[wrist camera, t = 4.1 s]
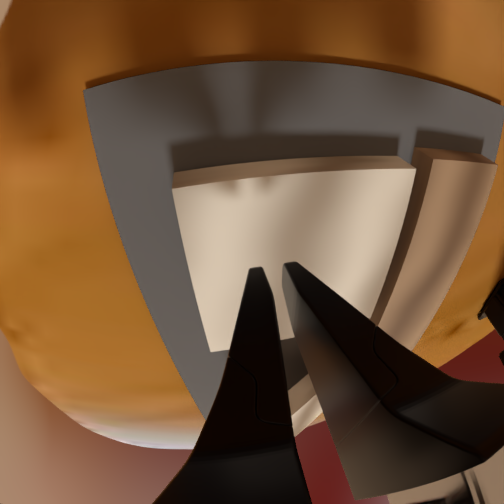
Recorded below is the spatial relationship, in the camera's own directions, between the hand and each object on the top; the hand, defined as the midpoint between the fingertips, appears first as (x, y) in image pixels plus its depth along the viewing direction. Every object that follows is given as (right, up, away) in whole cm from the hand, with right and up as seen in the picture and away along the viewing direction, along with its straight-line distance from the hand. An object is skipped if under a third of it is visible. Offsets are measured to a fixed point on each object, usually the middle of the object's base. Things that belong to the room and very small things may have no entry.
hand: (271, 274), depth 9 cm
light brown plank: (+11, -4, +11) cm, 16 cm away
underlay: (+5, -4, +11) cm, 12 cm away
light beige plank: (+1, +1, +5) cm, 6 cm away
